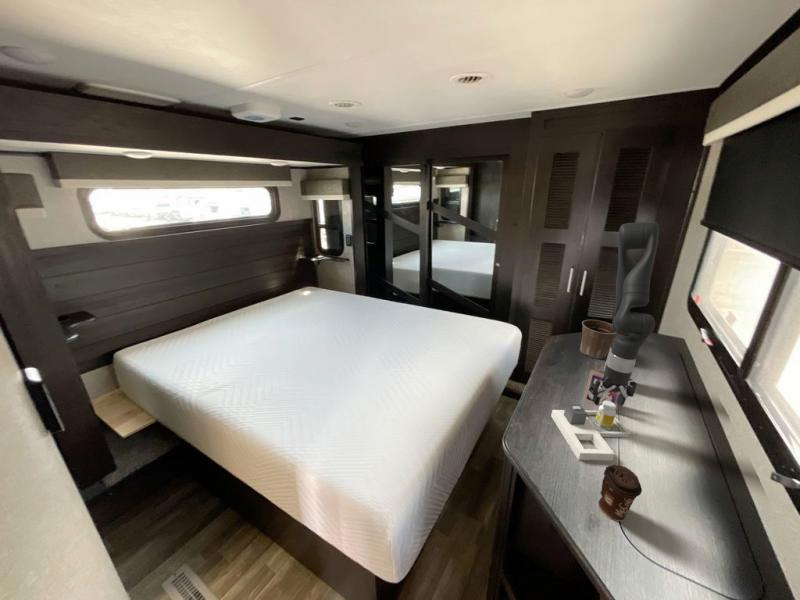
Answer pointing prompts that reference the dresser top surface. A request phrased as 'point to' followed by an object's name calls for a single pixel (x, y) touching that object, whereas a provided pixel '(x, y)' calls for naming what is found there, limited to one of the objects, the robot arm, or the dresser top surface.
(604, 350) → the plant pot
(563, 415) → the white holder base
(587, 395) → the greeting card
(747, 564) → the dresser top surface
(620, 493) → the coffee cup
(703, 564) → the dresser top surface
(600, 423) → the supplement bottle
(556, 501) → the dresser top surface
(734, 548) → the dresser top surface
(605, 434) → the tray
